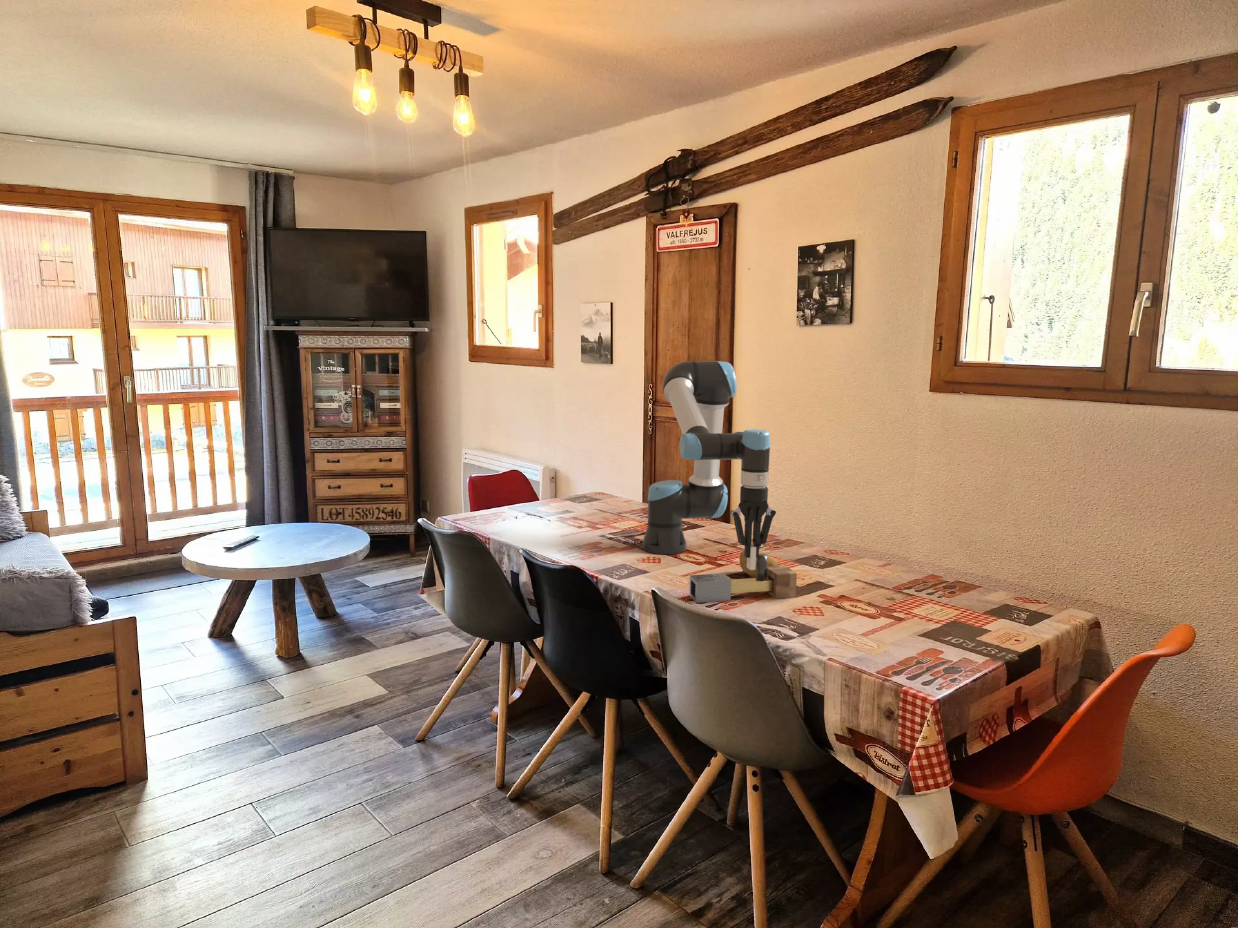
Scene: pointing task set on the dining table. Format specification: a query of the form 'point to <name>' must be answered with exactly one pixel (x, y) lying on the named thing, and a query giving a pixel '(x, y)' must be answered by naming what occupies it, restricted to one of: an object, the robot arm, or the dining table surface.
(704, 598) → the sleeve
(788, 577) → the socket
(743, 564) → the potato
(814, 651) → the dining table surface
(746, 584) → the sliding bolt
